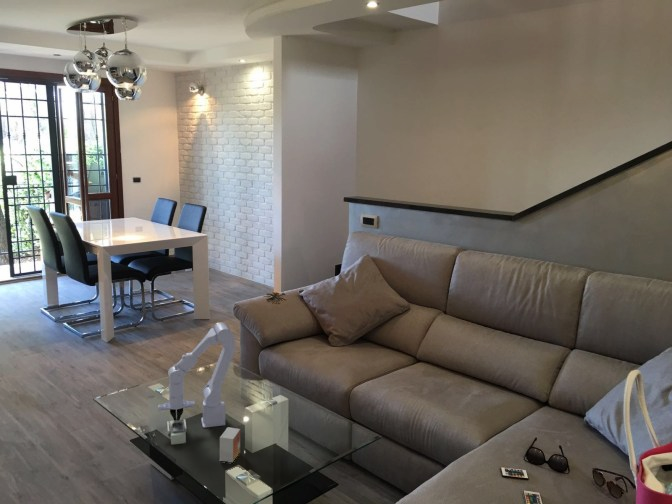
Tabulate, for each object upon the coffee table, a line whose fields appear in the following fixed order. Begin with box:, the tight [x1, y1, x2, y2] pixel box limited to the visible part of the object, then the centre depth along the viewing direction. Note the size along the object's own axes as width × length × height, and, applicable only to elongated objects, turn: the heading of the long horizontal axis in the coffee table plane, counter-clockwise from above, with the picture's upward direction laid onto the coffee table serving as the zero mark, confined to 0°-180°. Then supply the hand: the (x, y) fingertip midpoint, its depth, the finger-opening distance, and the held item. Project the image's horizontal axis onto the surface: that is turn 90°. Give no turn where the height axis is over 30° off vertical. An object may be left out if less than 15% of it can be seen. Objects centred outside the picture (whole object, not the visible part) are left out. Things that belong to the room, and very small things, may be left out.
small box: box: [219, 426, 241, 462], centre depth 217 cm, size 8×6×10 cm
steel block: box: [172, 422, 183, 433], centre depth 229 cm, size 4×6×5 cm, turn 19°
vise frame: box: [166, 419, 188, 446], centre depth 233 cm, size 7×16×4 cm, turn 19°
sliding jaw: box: [169, 418, 185, 435], centre depth 234 cm, size 6×4×4 cm, turn 109°
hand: (176, 423), depth 237 cm, fingers closed, pressing on sliding jaw
